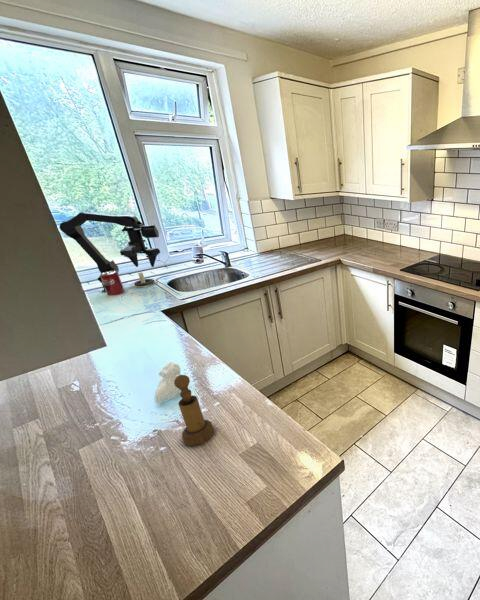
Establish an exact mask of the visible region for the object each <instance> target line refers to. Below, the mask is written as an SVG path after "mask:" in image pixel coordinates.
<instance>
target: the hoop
mask: <svg viewBox="0 0 480 600" xmlns="http://www.w3.org/2000/svg"><path fill="white" fill-rule="evenodd" d="M144 279H145V282H146V283H141V281H140V279H139V280H136V281H134V282H133V285H136V286H146V285H149V286H151V285H153V284H152V283H154V282H155V281H156V280H155V279H153V278H144ZM150 284H151V285H150ZM154 284H155V283H154Z"/></svg>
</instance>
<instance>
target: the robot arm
mask: <svg viewBox="0 0 480 600" xmlns="http://www.w3.org/2000/svg"><path fill="white" fill-rule="evenodd" d="M87 221H88V222H99V223H108V224H116V225H119V226H122V227H123V228H122V229H121V232H123V233H124V232H126V233H127V236H128V239H129V241H128V242H127V244H128V245H127V246H125V247H124V248H123V249H120V250H119V253H120V255H121V256H123V257H125V258H127V259H129V260H130V262H131V263H132V264H133V265H134V266H135V267H136V268H138V267H139V259H138V254H145V257H146V258H147V259H148V261H149V264H150V267H151V268H154V267H155V264H156V259H157V256H159V254H161V250H160V248H157V247H152V248H148V246H146V244H145V243H146V239H155V238H159V237H160V233H159V230H158V228H157V227H156V224H147V225H145V224H144V223H143V222H141V221H140V220H139V218H138V217H137V216H136V215H134V214H115V215H114V214H107V213H98V212H97V213H96V212H88V211H80V212H78V214H76V215H75V216H73V217H71V218H70V219H68V220H65V221H62V222H60V224H59V230H60V231H61V233H63V234H65V235H66V236H67V237H69V238H71V239H73V240H74V241H75V242H76V243H77V244H78V245H79V246H80V247H81V249H83V251H84V252H85V253H86V254H87V255H88V256H89V258H91V260H92V261H93V262H94V263H95V264H96V266H97V269H98V271H99V273H100V274H101V273H104V272H108V271H117V272H118V273H119V272H120V269H119V265H117V263H115V261H114V260H113V259H112V260H111V261H110V260H108V259H106V258H105V256H104V255H103V254H102V252H100V251H99V249H98V248H97V247H96V246H95V245H94V244H93V242H92V241H91V240H90V239H89V238H88V237H87V236H86V234H85V231H84V229H83V227H82V225H84V224H85V223H86V222H87ZM144 238H145V239H144ZM97 280H98V282H99V283H101V285H102V288H103V290H101V293H106V290H105V287H104V285H103V282H102V279H101V277H100V275H99V277H98V278H97Z"/></svg>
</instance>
